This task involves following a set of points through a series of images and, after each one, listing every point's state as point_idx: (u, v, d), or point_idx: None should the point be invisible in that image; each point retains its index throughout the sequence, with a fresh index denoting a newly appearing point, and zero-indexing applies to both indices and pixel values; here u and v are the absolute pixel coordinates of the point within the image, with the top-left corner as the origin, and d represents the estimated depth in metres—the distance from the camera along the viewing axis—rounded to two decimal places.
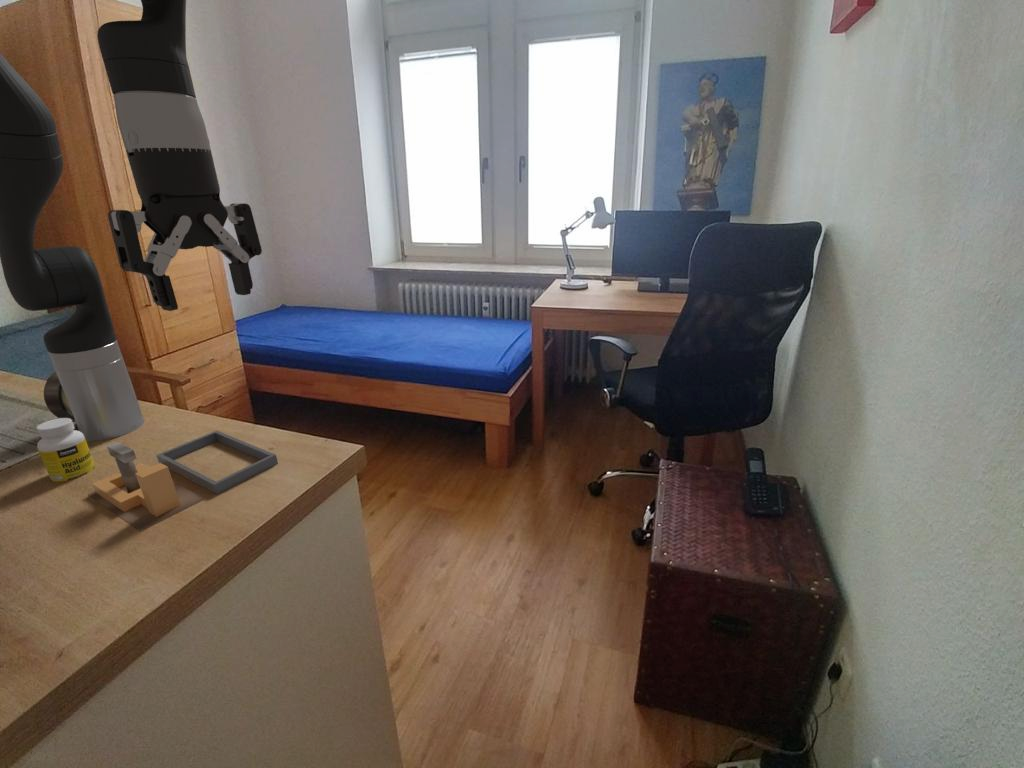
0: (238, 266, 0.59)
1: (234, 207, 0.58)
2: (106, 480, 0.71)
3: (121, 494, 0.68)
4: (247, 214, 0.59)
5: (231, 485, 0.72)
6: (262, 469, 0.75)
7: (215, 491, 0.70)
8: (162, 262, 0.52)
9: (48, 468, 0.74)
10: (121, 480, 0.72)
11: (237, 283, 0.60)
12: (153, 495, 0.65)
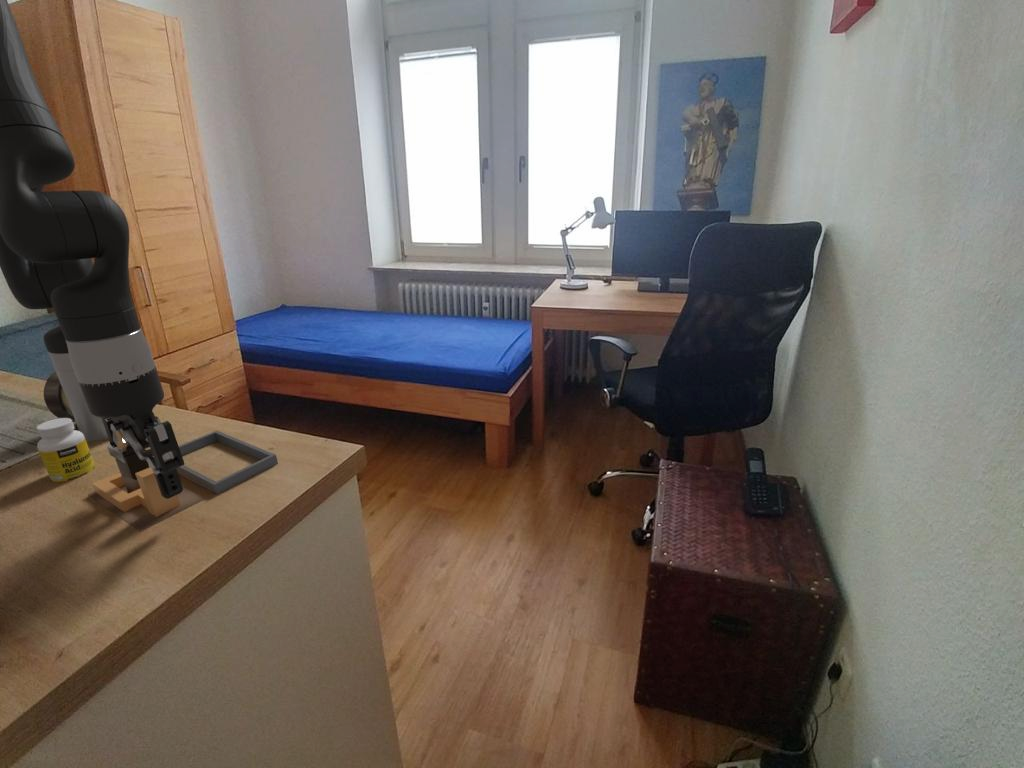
0: None
1: None
2: (106, 480, 0.71)
3: (121, 494, 0.68)
4: None
5: (231, 485, 0.72)
6: (262, 469, 0.75)
7: (215, 491, 0.70)
8: None
9: (48, 468, 0.74)
10: (121, 480, 0.72)
11: (139, 468, 0.67)
12: (153, 495, 0.65)
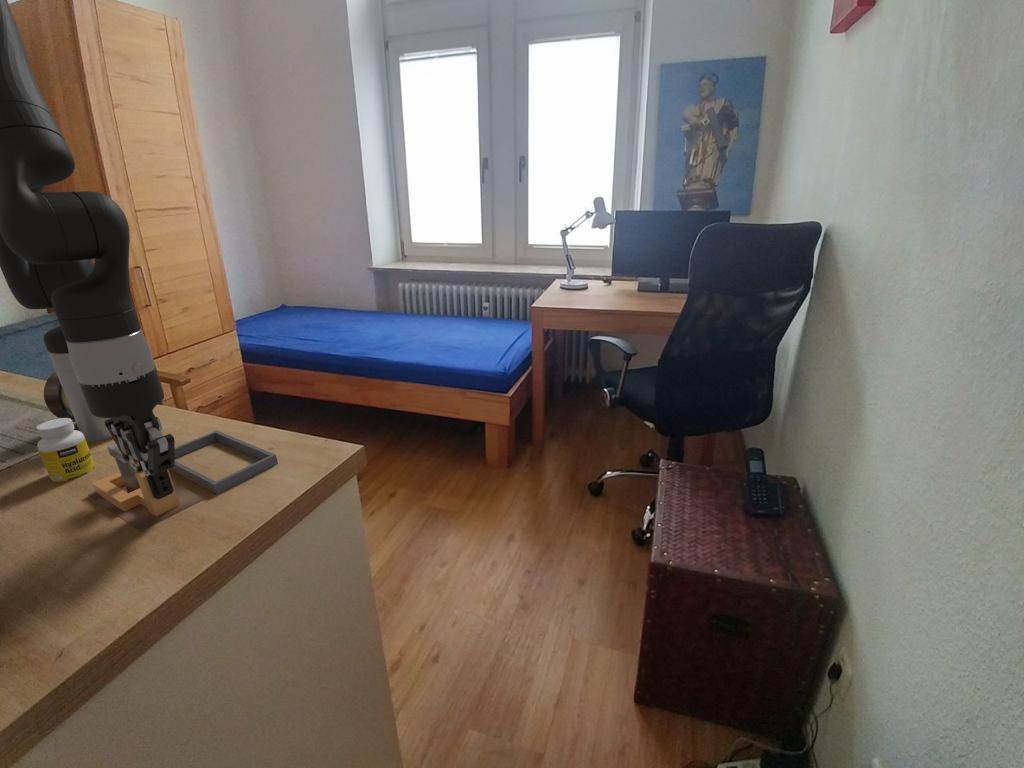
0: None
1: None
2: (106, 479, 0.71)
3: (120, 494, 0.68)
4: None
5: (231, 485, 0.72)
6: (262, 469, 0.75)
7: (215, 491, 0.70)
8: None
9: (48, 468, 0.74)
10: (121, 480, 0.72)
11: None
12: None
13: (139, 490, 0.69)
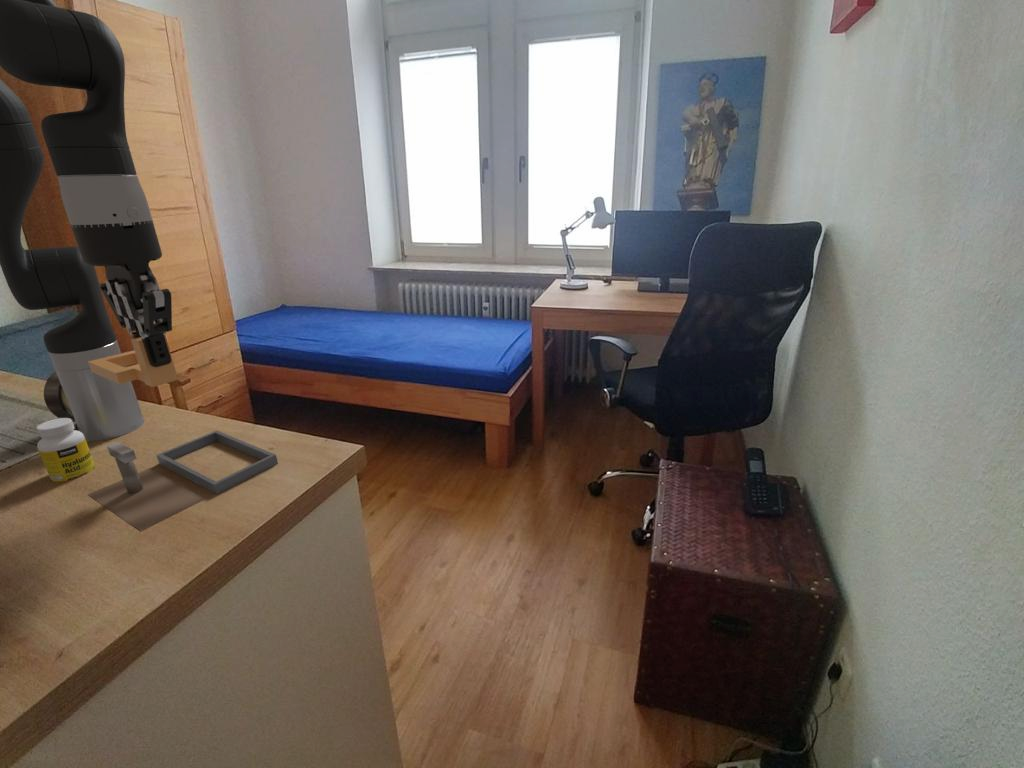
0: None
1: None
2: (102, 359, 0.68)
3: (116, 368, 0.65)
4: None
5: (231, 485, 0.72)
6: (262, 469, 0.75)
7: (215, 491, 0.70)
8: None
9: (48, 468, 0.74)
10: (118, 361, 0.69)
11: None
12: (149, 363, 0.61)
13: (136, 365, 0.65)
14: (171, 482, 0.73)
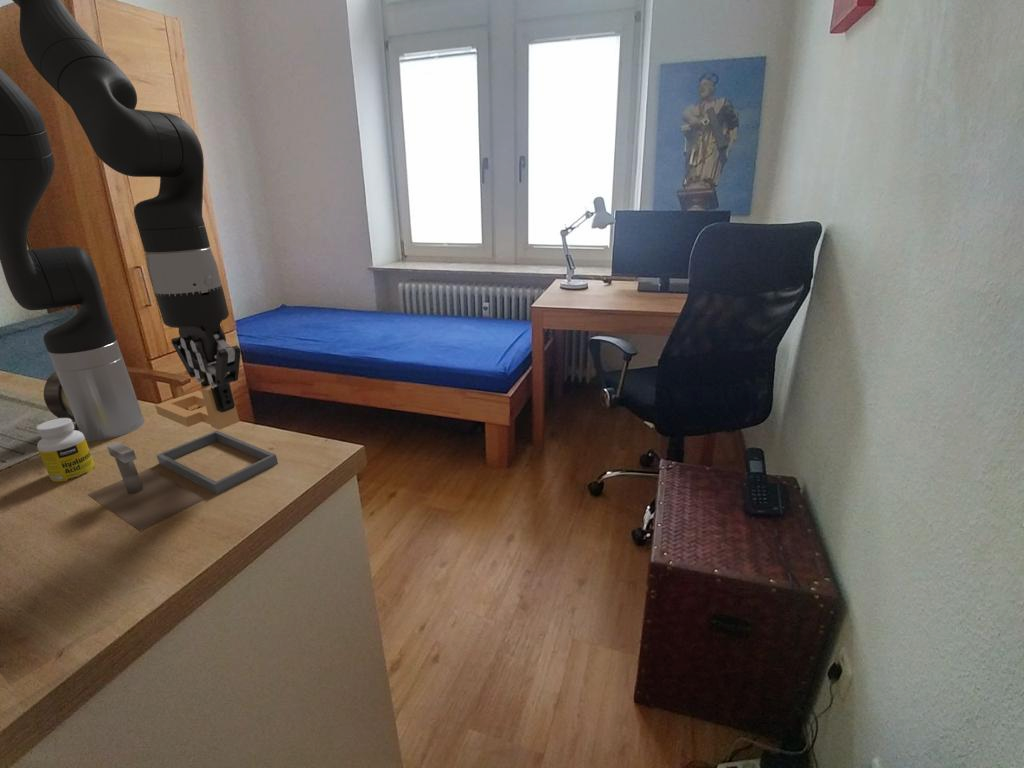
0: None
1: None
2: (167, 402, 0.76)
3: (184, 411, 0.72)
4: None
5: (231, 485, 0.72)
6: (262, 469, 0.75)
7: (215, 491, 0.70)
8: None
9: (48, 468, 0.74)
10: (181, 403, 0.77)
11: None
12: (216, 408, 0.69)
13: (200, 409, 0.73)
14: (171, 482, 0.73)
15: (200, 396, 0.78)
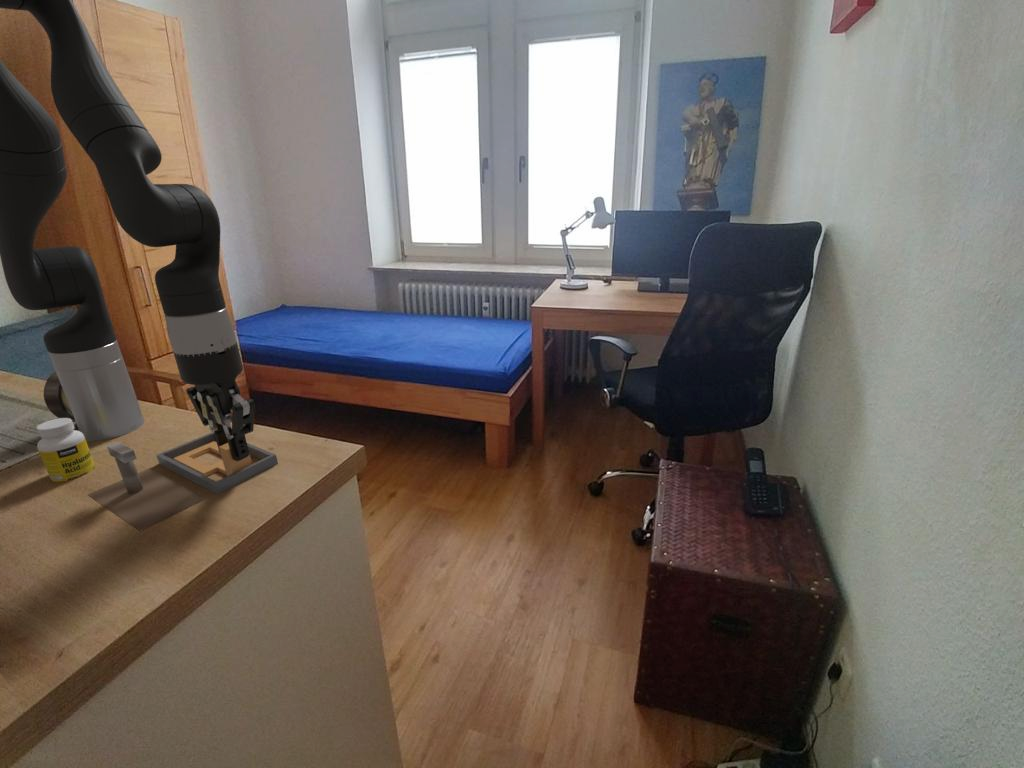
0: None
1: None
2: (185, 455, 0.79)
3: (202, 466, 0.76)
4: None
5: (231, 485, 0.72)
6: (262, 469, 0.75)
7: (215, 491, 0.70)
8: None
9: (48, 468, 0.74)
10: (198, 455, 0.80)
11: None
12: (234, 466, 0.73)
13: (218, 463, 0.76)
14: (171, 482, 0.73)
15: (216, 448, 0.81)
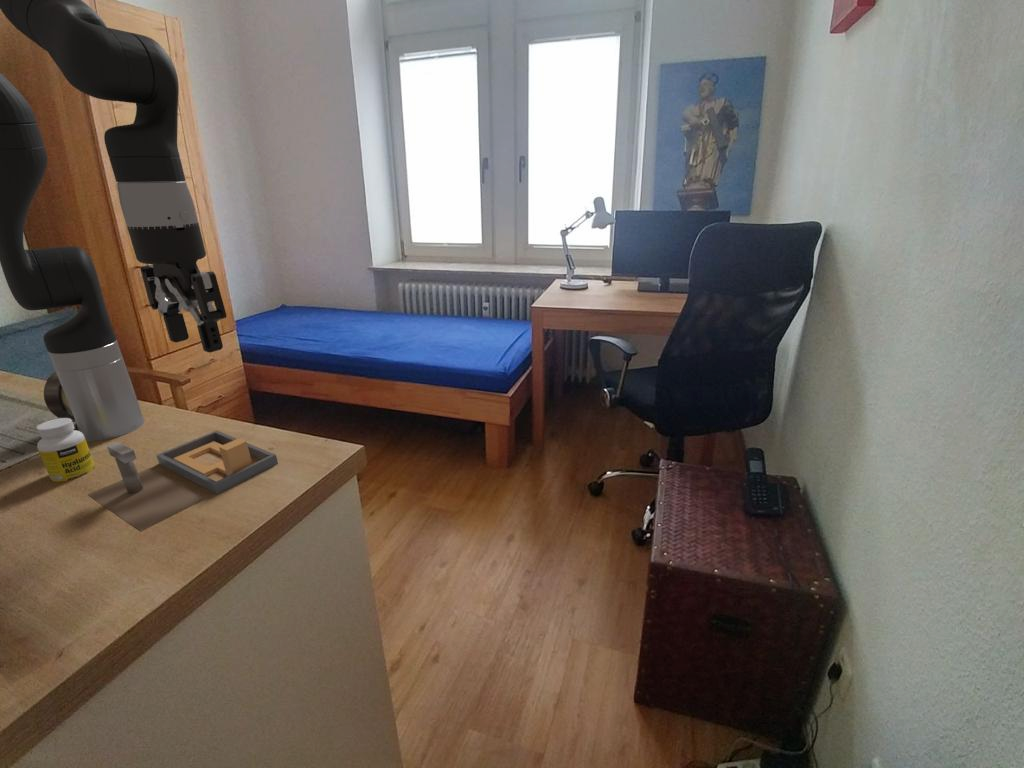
0: (181, 315, 0.69)
1: None
2: (185, 455, 0.79)
3: (202, 466, 0.76)
4: None
5: (231, 485, 0.72)
6: (262, 469, 0.75)
7: (215, 491, 0.70)
8: None
9: (48, 468, 0.74)
10: (198, 455, 0.80)
11: (178, 331, 0.69)
12: (234, 466, 0.73)
13: (218, 463, 0.76)
14: (171, 482, 0.73)
15: (216, 448, 0.81)
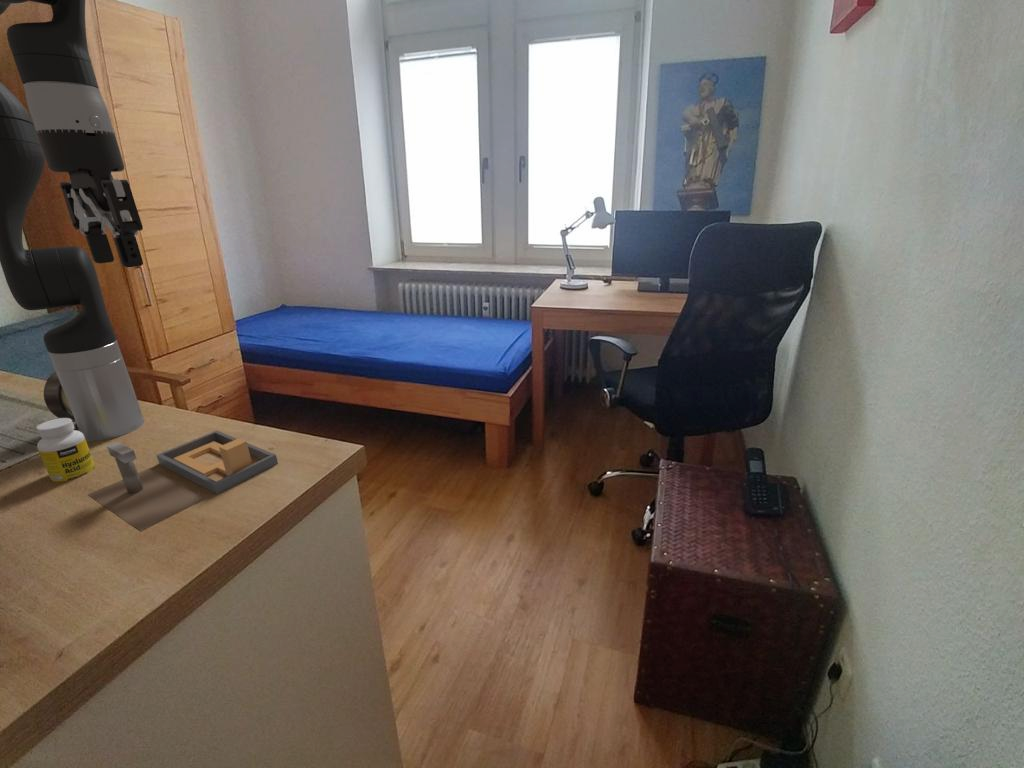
0: (104, 236, 0.68)
1: None
2: (185, 455, 0.79)
3: (202, 466, 0.76)
4: None
5: (231, 485, 0.72)
6: (262, 469, 0.75)
7: (215, 491, 0.70)
8: None
9: (48, 468, 0.74)
10: (198, 455, 0.80)
11: (101, 252, 0.68)
12: (234, 466, 0.73)
13: (218, 463, 0.76)
14: (171, 482, 0.73)
15: (216, 448, 0.81)
